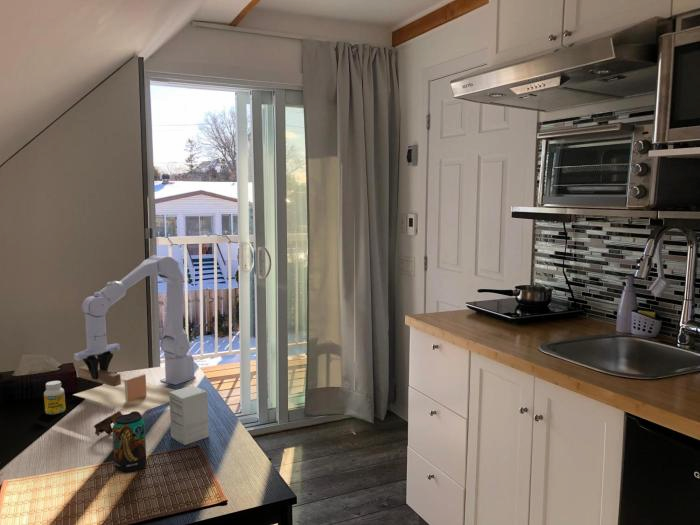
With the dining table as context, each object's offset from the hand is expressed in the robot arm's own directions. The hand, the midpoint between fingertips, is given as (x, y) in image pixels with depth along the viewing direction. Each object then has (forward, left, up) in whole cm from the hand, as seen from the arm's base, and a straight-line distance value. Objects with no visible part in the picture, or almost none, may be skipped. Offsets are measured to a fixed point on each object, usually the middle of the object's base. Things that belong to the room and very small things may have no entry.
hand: (99, 377), depth 179 cm
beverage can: (+24, +47, -8) cm, 53 cm away
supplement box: (+5, +46, -8) cm, 47 cm away
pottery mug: (+15, +30, -8) cm, 35 cm away
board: (-7, +6, -7) cm, 12 cm away
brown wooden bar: (0, 0, -1) cm, 1 cm away
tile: (-5, +11, -3) cm, 12 cm away
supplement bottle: (+14, -1, -8) cm, 16 cm away
